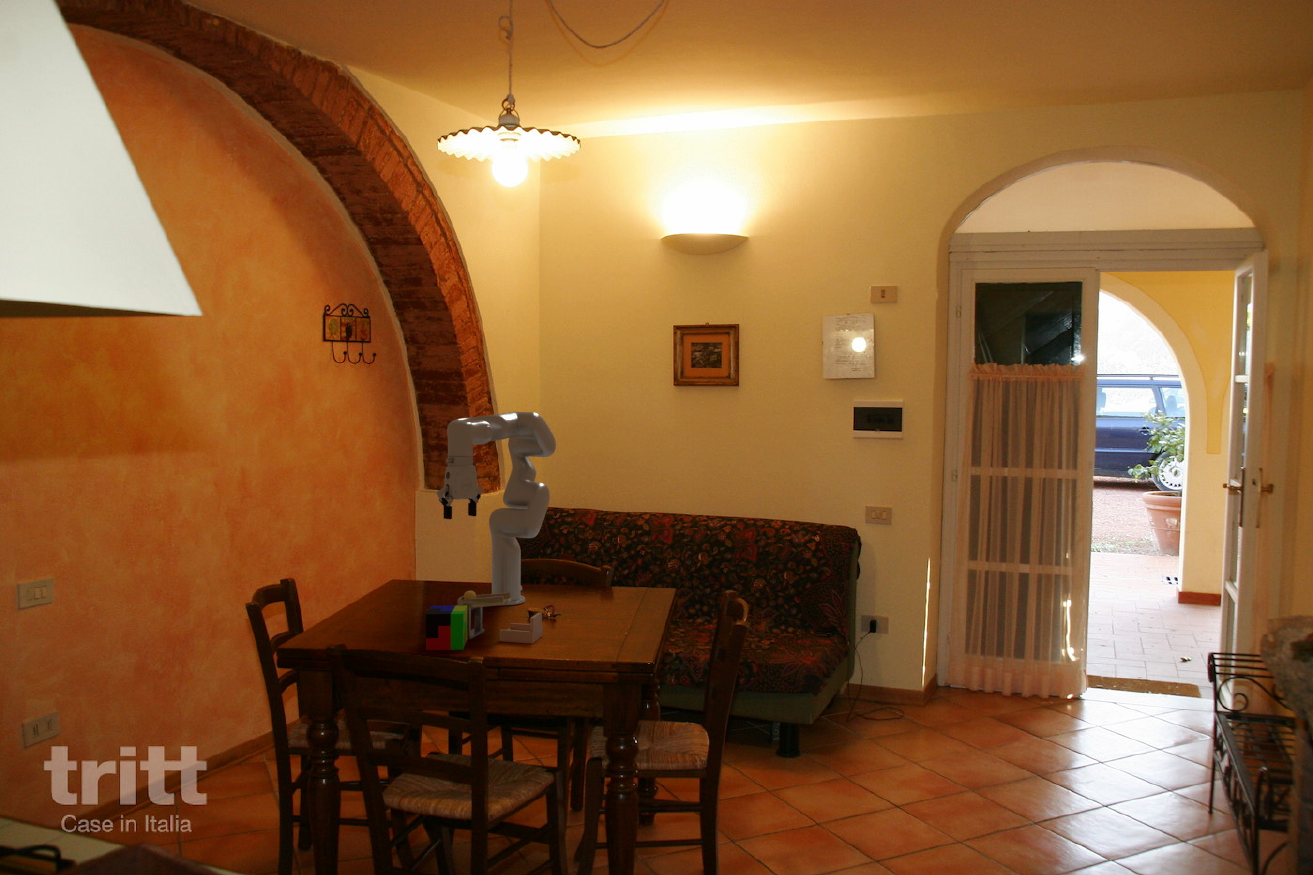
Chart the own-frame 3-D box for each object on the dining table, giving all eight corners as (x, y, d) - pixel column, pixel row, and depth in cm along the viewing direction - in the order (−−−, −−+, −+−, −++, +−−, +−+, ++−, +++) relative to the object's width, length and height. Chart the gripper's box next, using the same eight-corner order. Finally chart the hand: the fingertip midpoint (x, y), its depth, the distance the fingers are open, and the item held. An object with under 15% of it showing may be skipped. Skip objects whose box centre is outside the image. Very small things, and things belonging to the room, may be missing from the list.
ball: (470, 603, 275) (464, 592, 275) (480, 598, 274) (474, 587, 274) (465, 606, 271) (459, 595, 271) (475, 600, 270) (469, 589, 271)
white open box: (511, 633, 275) (511, 609, 275) (542, 635, 273) (542, 612, 272) (499, 641, 267) (499, 616, 266) (532, 643, 264) (532, 618, 264)
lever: (460, 614, 283) (457, 592, 283) (520, 609, 279) (517, 586, 279) (442, 623, 271) (439, 600, 271) (505, 618, 267) (502, 595, 267)
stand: (474, 630, 278) (474, 596, 278) (484, 631, 277) (484, 597, 277) (460, 638, 268) (460, 604, 268) (470, 639, 268) (470, 604, 267)
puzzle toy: (431, 640, 267) (431, 605, 266) (467, 640, 267) (467, 605, 267) (426, 650, 257) (425, 614, 256) (463, 649, 257) (463, 613, 257)
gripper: (446, 463, 278) (446, 521, 279) (490, 461, 292) (489, 515, 292) (429, 462, 282) (429, 519, 283) (473, 459, 296) (473, 513, 297)
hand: (460, 517), depth 288 cm, fingers open, 9 cm apart
